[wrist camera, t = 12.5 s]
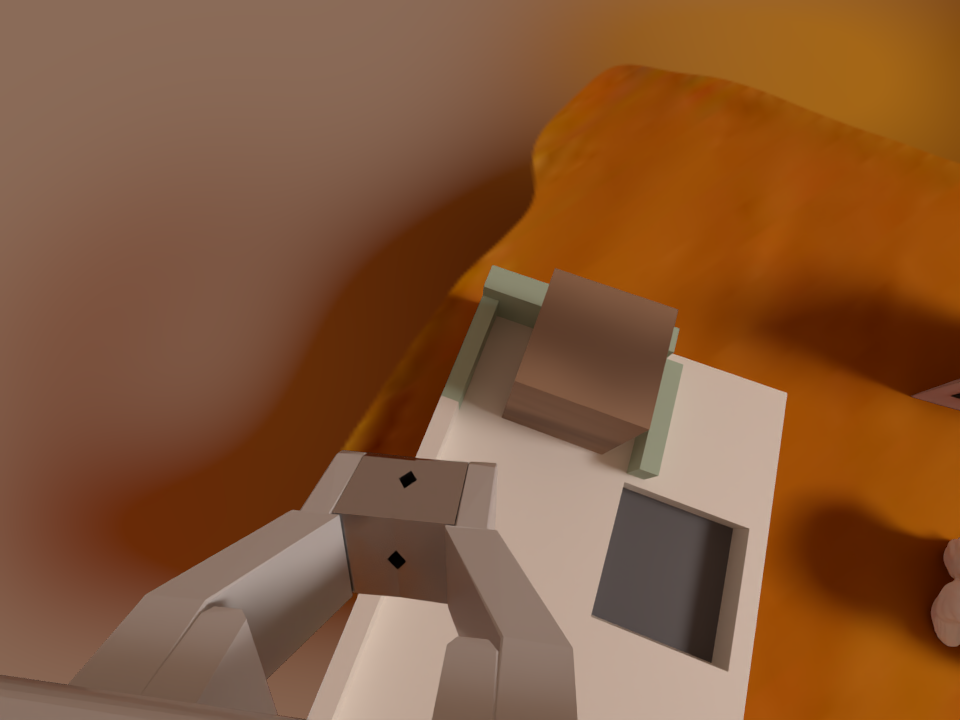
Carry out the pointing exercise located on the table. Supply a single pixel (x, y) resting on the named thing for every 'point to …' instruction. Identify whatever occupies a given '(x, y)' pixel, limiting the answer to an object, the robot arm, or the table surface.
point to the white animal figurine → (949, 599)
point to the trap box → (594, 538)
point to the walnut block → (592, 364)
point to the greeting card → (943, 395)
